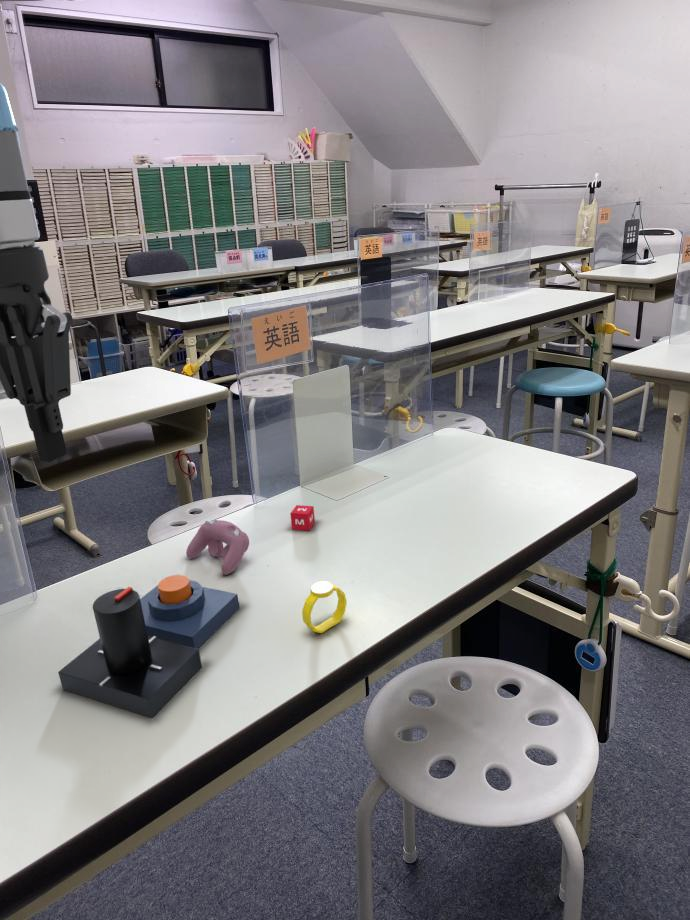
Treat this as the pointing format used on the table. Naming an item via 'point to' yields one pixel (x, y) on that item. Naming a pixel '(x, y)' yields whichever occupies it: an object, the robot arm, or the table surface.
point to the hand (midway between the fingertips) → (53, 457)
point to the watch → (322, 591)
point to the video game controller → (220, 543)
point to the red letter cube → (302, 517)
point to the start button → (174, 589)
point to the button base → (188, 615)
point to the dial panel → (133, 677)
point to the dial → (122, 630)
